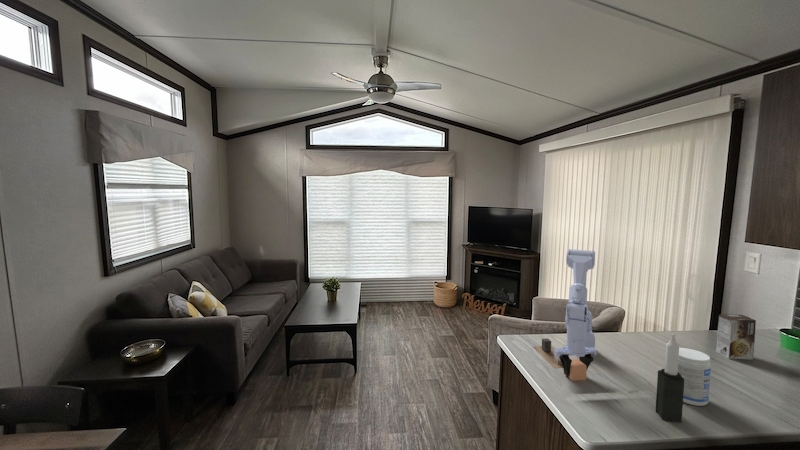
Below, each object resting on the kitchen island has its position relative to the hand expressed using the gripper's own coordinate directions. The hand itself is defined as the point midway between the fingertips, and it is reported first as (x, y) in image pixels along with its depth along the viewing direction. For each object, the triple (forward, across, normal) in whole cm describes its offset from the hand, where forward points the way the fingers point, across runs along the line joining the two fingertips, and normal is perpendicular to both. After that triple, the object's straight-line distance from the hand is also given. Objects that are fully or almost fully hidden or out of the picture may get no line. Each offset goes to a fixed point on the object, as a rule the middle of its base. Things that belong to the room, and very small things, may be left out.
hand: (574, 374), depth 120 cm
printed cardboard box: (+2, +74, +12) cm, 75 cm away
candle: (+2, +16, -21) cm, 26 cm away
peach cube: (+2, 0, 0) cm, 2 cm away
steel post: (+1, 0, +10) cm, 10 cm away
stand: (+2, 0, +15) cm, 15 cm away
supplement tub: (+2, +30, -13) cm, 33 cm away
